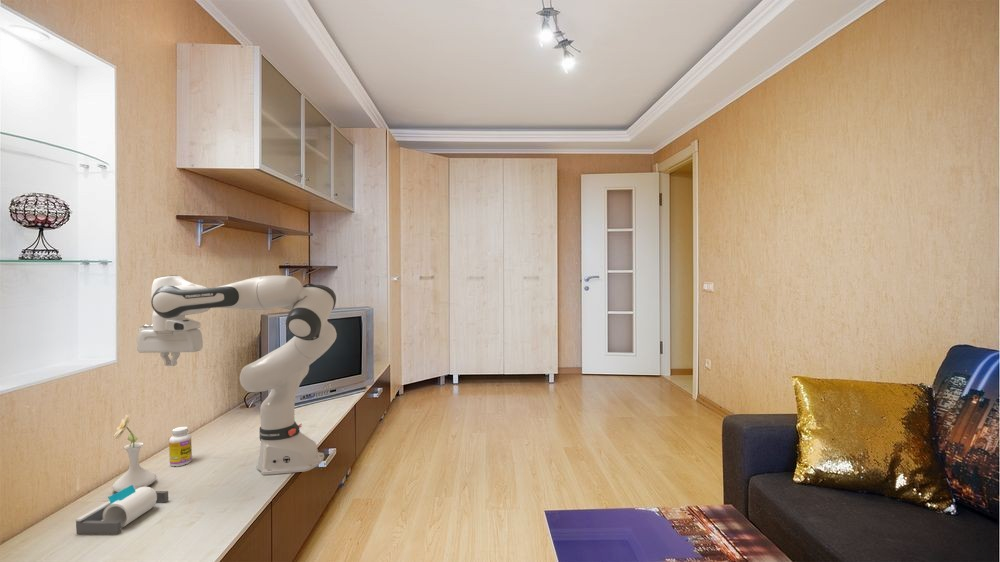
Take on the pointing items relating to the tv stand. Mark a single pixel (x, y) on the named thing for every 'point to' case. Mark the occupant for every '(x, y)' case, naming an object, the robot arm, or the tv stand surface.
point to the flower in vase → (132, 463)
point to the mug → (129, 504)
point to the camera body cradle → (95, 525)
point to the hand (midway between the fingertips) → (170, 365)
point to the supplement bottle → (180, 447)
